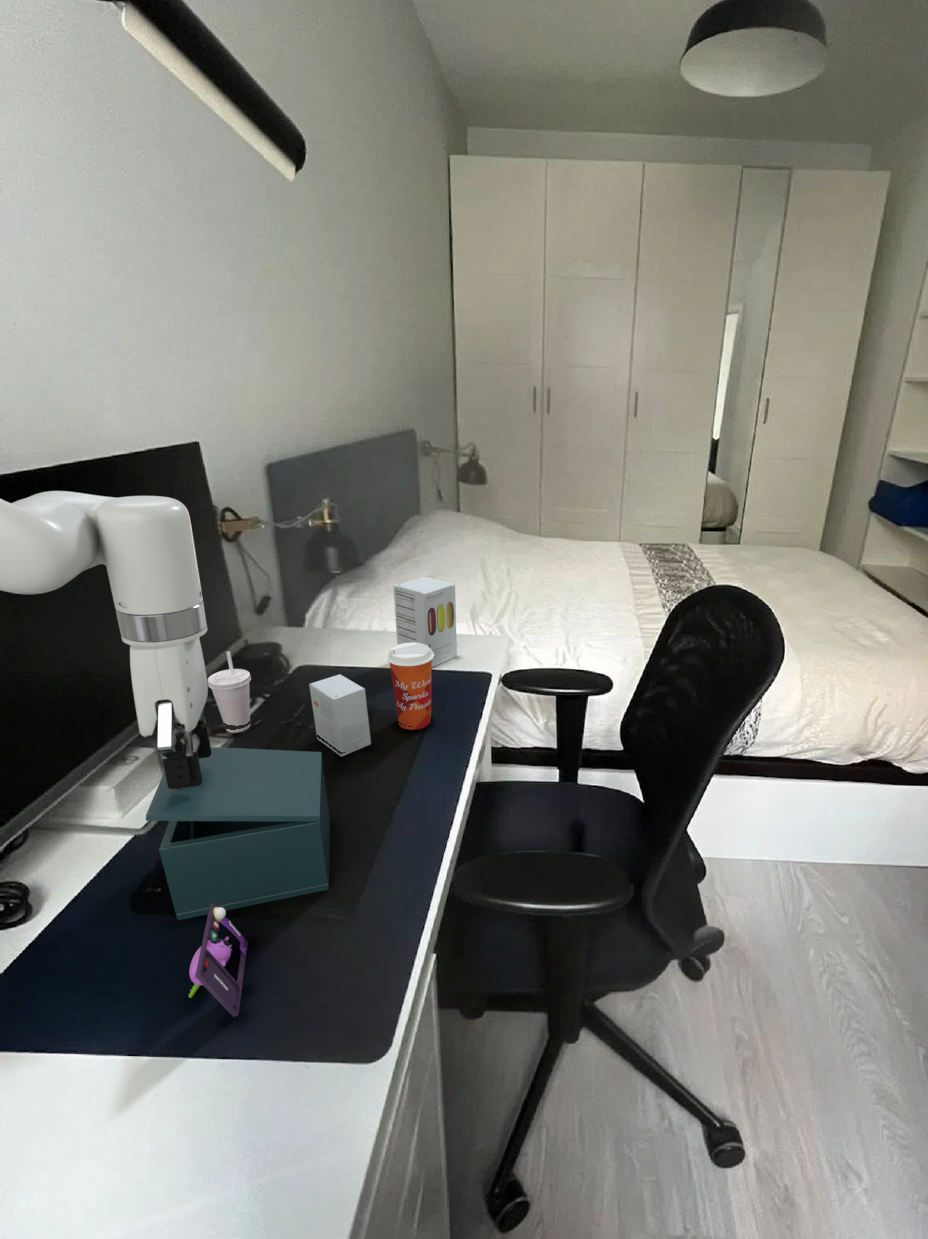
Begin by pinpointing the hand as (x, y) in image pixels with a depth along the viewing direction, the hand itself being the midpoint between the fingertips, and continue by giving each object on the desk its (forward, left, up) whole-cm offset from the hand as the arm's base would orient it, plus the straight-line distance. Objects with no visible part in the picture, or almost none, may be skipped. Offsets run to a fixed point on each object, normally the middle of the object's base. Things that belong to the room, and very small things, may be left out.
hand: (190, 769), depth 71 cm
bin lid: (+3, +4, -3) cm, 6 cm away
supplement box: (-28, +61, -15) cm, 69 cm away
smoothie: (-31, +20, -15) cm, 40 cm away
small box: (-13, +28, -15) cm, 35 cm away
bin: (+3, +4, -15) cm, 16 cm away
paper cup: (-9, +40, -15) cm, 44 cm away
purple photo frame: (+15, -8, -15) cm, 23 cm away
